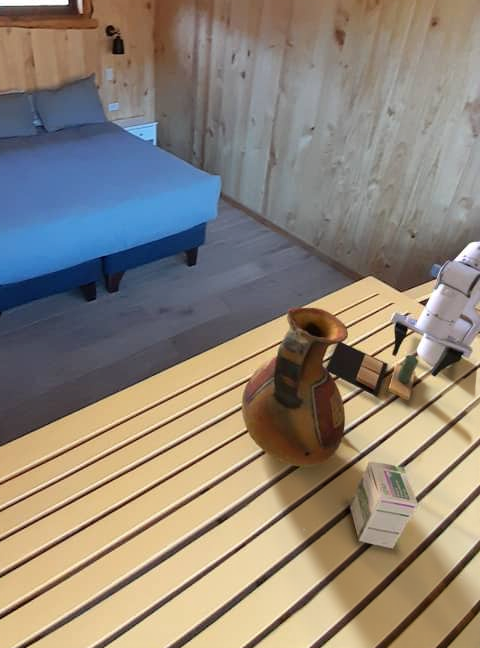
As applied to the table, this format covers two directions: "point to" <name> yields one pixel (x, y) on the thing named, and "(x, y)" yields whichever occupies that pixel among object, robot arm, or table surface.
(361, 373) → the chip
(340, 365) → the enamel panel
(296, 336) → the ceramic pitcher
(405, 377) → the brush
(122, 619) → the table surface
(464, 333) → the robot arm
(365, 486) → the syrup box
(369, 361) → the chip
